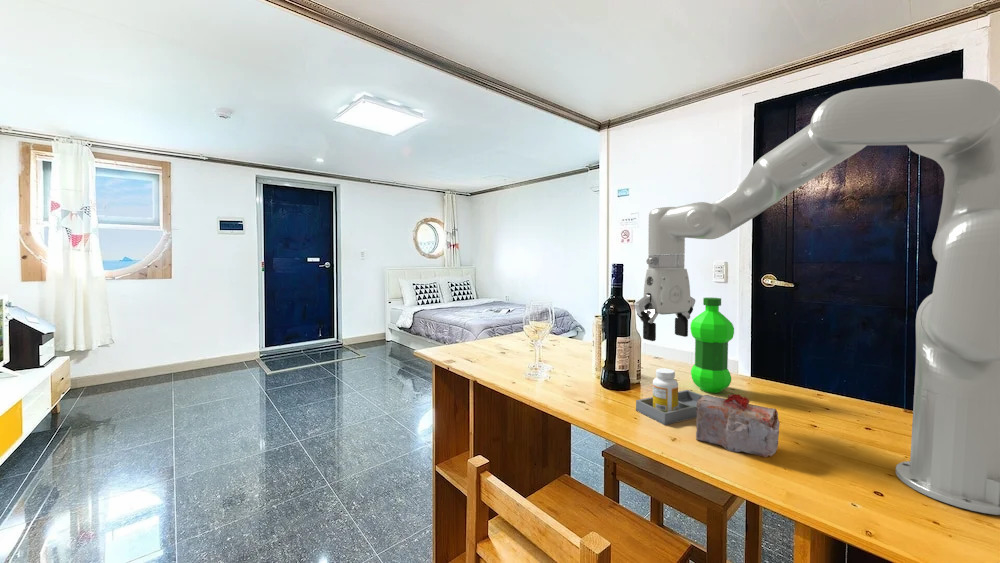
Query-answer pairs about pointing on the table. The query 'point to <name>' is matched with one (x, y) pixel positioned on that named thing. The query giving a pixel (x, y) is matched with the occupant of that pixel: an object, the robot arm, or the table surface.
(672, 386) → the supplement bottle
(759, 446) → the food item
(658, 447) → the table surface
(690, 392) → the divided tray
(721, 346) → the plastic bottle
